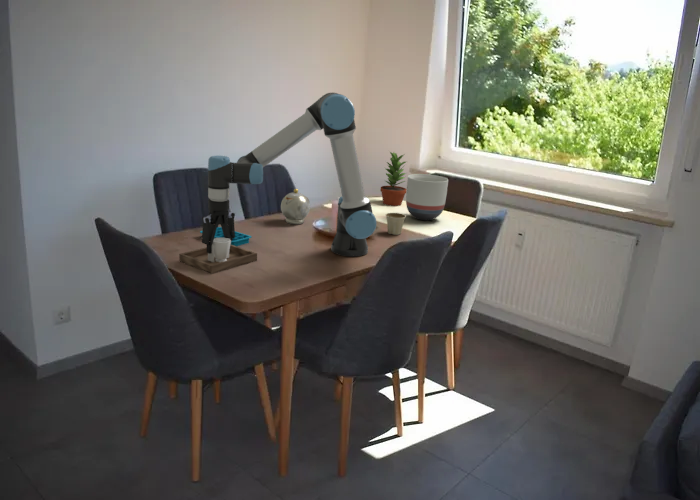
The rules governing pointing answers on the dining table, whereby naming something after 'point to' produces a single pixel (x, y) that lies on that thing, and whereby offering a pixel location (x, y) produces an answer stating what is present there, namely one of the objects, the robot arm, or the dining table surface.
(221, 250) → the cup
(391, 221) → the flower pot
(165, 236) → the dining table surface
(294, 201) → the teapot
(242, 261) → the tray
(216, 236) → the ice cube tray
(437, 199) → the planter
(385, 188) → the potted plant
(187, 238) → the dining table surface
